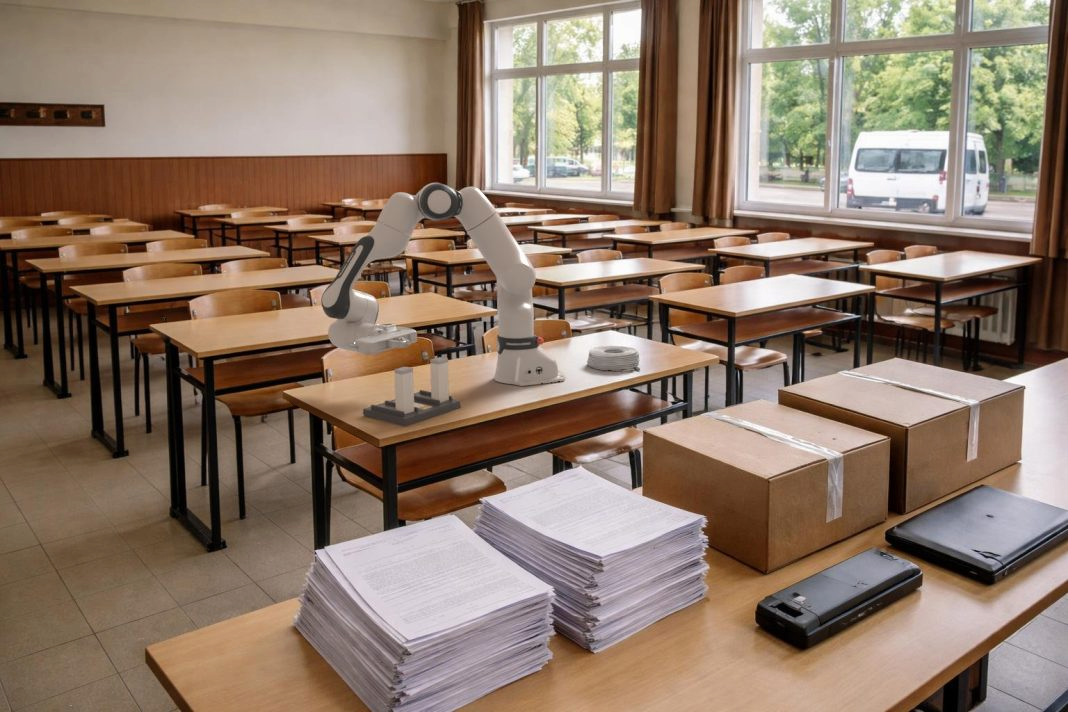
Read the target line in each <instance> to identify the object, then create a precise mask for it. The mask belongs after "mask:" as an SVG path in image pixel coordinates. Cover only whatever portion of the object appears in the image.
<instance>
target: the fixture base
mask: <svg viewBox="0 0 1068 712" xmlns="http://www.w3.org/2000/svg"><path fill="white" fill-rule="evenodd" d="M460 408H461V400H459V399H458V400H457V399H453V396H452V395H449V400H447V401H444V402H441V403H440V400H435V399H431V391H428V390H422V389H419V391H418V392H415V393H414V411H413V412H410V413H407V414H404V412H403V411H398V410H396V402H395V399H391V400H384V402H382V403H378V404H371V405H370V406H369V407H365V408H362V411H363V413H362V414H363V415H362V416H363V417H366V416H367V418H370V419H375V420H379V421H382V420H383V421H382V422H386V421H387V422H386V423H390V422H391V424H394V423H395V425H398V424H399V426H403V427H408V426H411V425H413V424H417V423H420V422H423V421H426V420H428V418H429V419H431V418H434V417H438V416H439V415H443V414H446V413H448V412H452V411H455V410H457V409H460ZM425 419H426V420H425ZM422 420H423V421H422ZM419 421H420V422H419ZM416 422H417V423H416Z"/></svg>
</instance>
